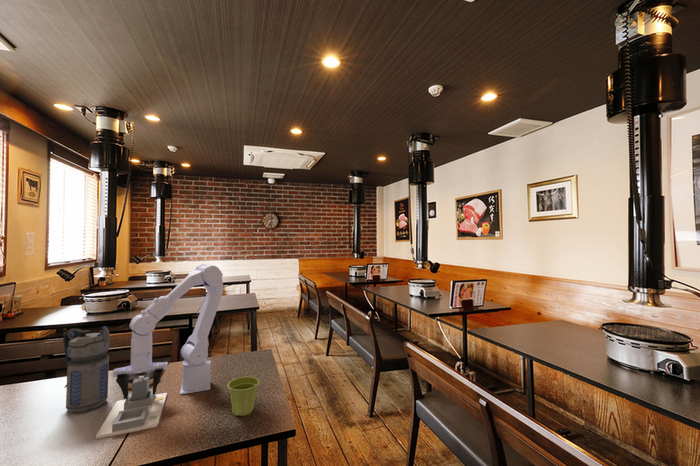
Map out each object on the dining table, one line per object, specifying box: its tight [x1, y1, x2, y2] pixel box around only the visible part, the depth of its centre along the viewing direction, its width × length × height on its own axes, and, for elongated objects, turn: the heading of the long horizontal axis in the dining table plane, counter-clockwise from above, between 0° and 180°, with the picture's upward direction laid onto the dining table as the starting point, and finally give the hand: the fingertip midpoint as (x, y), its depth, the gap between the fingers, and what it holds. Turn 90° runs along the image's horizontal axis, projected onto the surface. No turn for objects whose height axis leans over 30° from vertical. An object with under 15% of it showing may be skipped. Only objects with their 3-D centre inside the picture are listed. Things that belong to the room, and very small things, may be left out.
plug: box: [131, 376, 150, 401], centre depth 100 cm, size 4×4×8 cm
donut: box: [128, 371, 154, 390], centre depth 116 cm, size 11×12×4 cm
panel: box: [95, 389, 168, 440], centre depth 94 cm, size 14×20×3 cm
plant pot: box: [227, 376, 260, 417], centre depth 96 cm, size 9×9×9 cm
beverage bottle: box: [62, 325, 111, 414], centre depth 99 cm, size 10×13×25 cm
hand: (140, 395), depth 100 cm, fingers open, 7 cm apart
